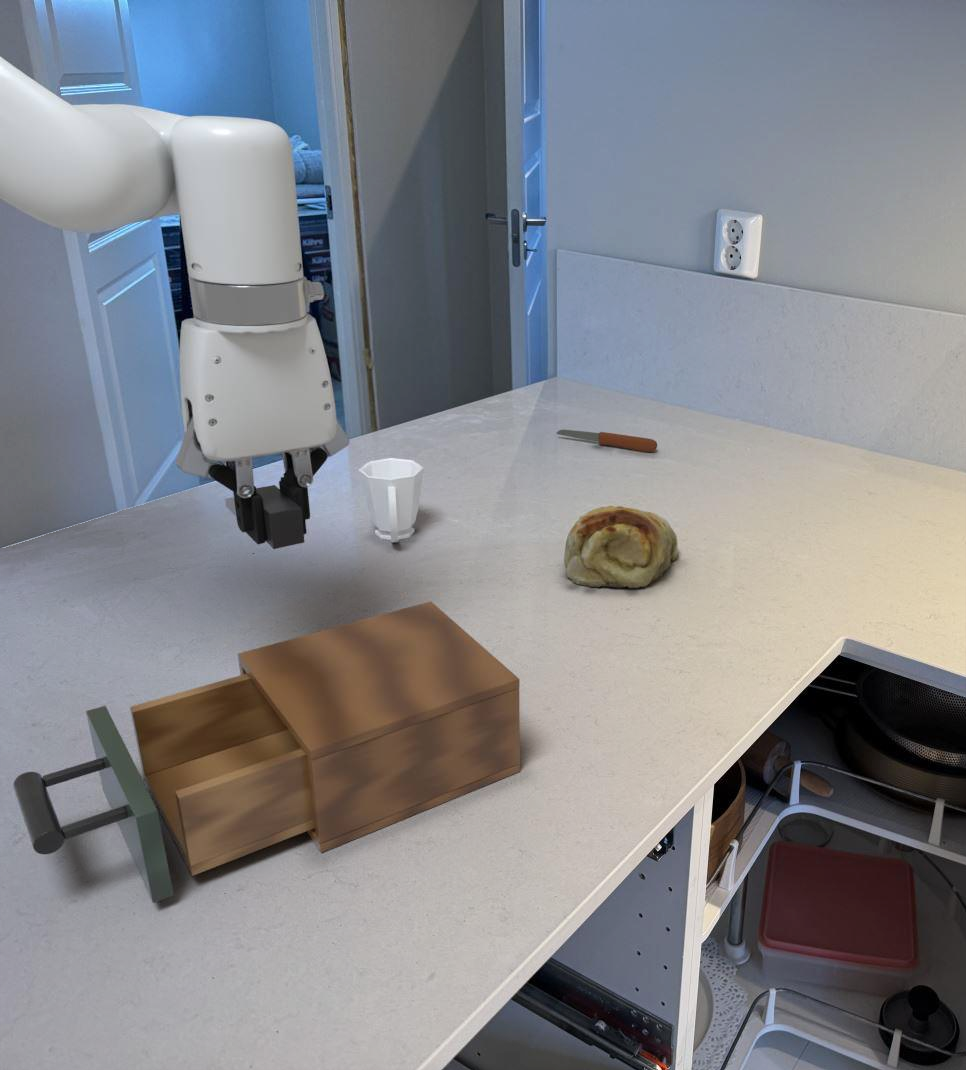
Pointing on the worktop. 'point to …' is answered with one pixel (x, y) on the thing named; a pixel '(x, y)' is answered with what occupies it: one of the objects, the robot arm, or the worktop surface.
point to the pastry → (619, 548)
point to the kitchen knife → (614, 440)
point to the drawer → (187, 781)
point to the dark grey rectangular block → (278, 517)
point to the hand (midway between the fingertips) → (275, 531)
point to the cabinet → (390, 716)
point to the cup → (392, 495)
